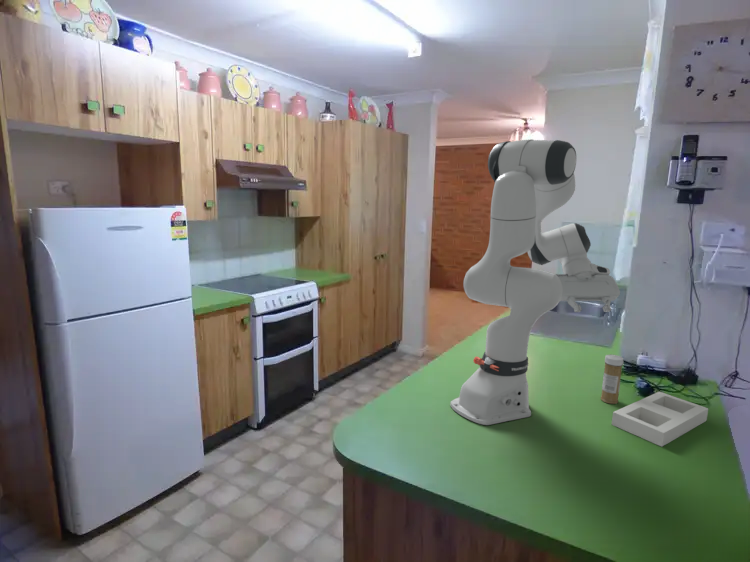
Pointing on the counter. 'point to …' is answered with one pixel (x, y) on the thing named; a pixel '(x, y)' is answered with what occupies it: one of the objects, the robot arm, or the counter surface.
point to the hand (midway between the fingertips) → (593, 311)
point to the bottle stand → (659, 418)
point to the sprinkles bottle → (611, 379)
